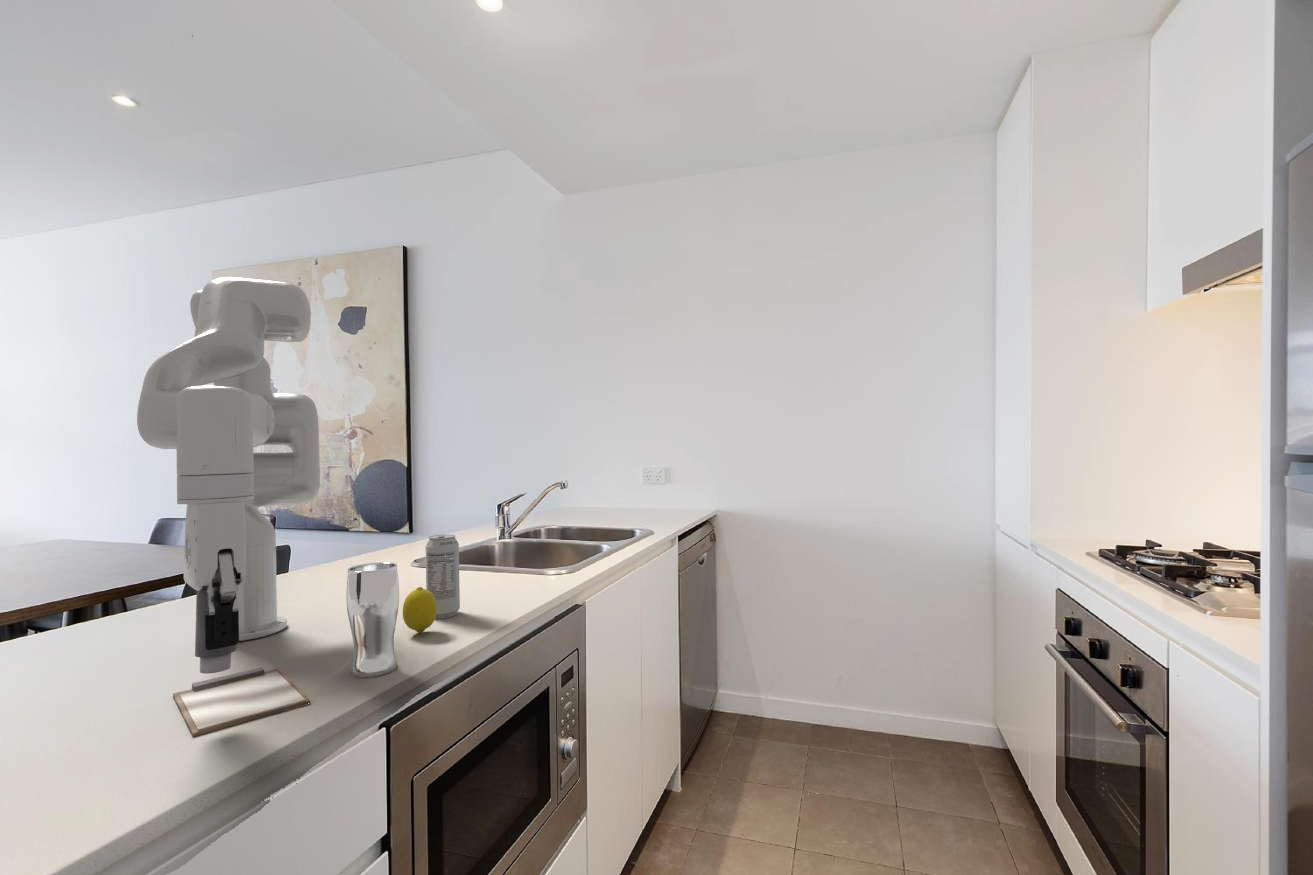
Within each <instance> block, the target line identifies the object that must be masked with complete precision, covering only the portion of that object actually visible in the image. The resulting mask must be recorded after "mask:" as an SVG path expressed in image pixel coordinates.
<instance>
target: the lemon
mask: <svg viewBox="0 0 1313 875" xmlns="http://www.w3.org/2000/svg"><path fill="white" fill-rule="evenodd" d="M436 614H437V605H436V601H435V597H434V595H433V594H432V593H431V592H430V591H428V590H426V588H423V587H422V586H418V587H416V589H414V590H412V591H411V592H410V593H408V594H407V596H406V597H405V599H404V601H403V605H402V618H403V622H404V623H405V625H406V626H407V628H409V629H411V630H413V631H416V633H418V634H422V633H423V632H424V631H425V630H427V629H428V628H430V627H431V626H432V625H433V624H434V622H435V620H436V619H437V618H436Z"/></svg>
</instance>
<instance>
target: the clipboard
mask: <svg viewBox="0 0 1313 875" xmlns="http://www.w3.org/2000/svg"><path fill="white" fill-rule="evenodd" d="M172 698H173V700H174V702H175V703H176V706H177V707H178V710H179V712H180V714H181V716H182V718H183V720H184V722H185V723H186V726H187V728H188V730H189V732H190V734H191V736H192V738H194V737H197V736H199V735H200V736H201V735H204V734H206V733H207V734H208V733H210V732H214V731H218V730H221V729H225V728H229V727H232V726H235V725H240V724H243V723H247V722H250V721H253V720H257V719H260V718H261V719H262V718H263V717H264V718H265V717H268V716H271V715H274V714H278V713H281V712H286V711H289V710H292V709H296V708H299V706H300V707H303V706H306V705H305V704H307V705H309V704H308V703H310V704H311V700H310V699H309V697H308V696H306V695H305V693H303V691H301V690H300V688H298V687H297V686H296V685H295V684H294V683H293V681H291V680H290V679H289V678H288V677H287V676H286V675H285V674H283V672H282V671H281V670H279V669H278V668H275V669H270V670H265V669H264V668H263V667H262V666H261V667H257V668H252V669H248V670H244V671H241V672H235V673H231V674H226V675H223V676H218V677H214V678H211V679H205V680H200V681H197V682H193V683H191V689H186V690H183V691H179V692H174V693H172Z"/></svg>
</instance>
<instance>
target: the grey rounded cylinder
mask: <svg viewBox="0 0 1313 875" xmlns="http://www.w3.org/2000/svg"><path fill="white" fill-rule="evenodd" d="M236 576H238V572H237V570H236ZM236 581H237V580H236ZM218 586H220V581H216V582H212V587H218ZM218 593H220V592H214V597H216V594H218ZM237 594H238V585H237ZM195 597H196V598H195V599H196V601H195V603H196V604H195V605H196V606H195V638H194V639H195V640H194V641H195V643H194V645H195V646H194V656H195V657H196V658H199V673H201V674H207V675H209V674H215V673H220V672H224V671H227V670H230V669H231V667H232V653H234V652H235V651H237V645H233V646H229V647H224V648H219V649H214V650H207V649H206V648H205V615H208V605H207V586H203V587H202V590H201V591H197V590H196V596H195ZM214 601H215V600H214Z"/></svg>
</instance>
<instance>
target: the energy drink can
mask: <svg viewBox="0 0 1313 875" xmlns="http://www.w3.org/2000/svg"><path fill="white" fill-rule="evenodd" d="M459 545H460V544H459V541H458V540H457V539H456V535H455V534H436V535H431V536H429V537H428V541H427V543H426V545H425V589H426V590H428V591H430V592H431V593H432V594H433V595H434V597H435V601H436V605H437V614H436V618H435V619H447V618H451V617H454V616H457V615H458V611H459V610H460V608H461V607H460V606H461V602H460V601H461V600H460V599H461V598H460V592H461V591H460V546H459Z"/></svg>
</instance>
